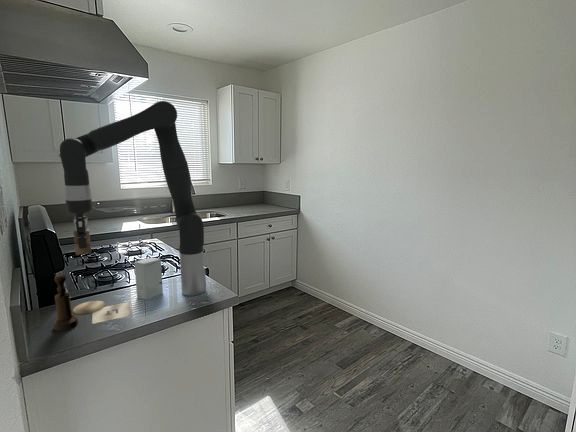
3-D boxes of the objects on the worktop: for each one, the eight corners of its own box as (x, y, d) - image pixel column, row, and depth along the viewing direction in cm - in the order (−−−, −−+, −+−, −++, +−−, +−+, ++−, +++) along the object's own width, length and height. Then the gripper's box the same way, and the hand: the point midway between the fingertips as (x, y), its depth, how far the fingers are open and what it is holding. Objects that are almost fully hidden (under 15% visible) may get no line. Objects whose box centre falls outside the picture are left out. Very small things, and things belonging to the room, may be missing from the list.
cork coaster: (104, 300, 125) (104, 298, 125) (105, 310, 117) (105, 309, 117) (74, 305, 120) (73, 304, 120) (72, 317, 112) (72, 315, 112)
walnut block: (90, 250, 117) (89, 228, 116) (91, 253, 113) (89, 231, 112) (76, 251, 115) (74, 229, 113) (75, 254, 111) (73, 232, 109)
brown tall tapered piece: (50, 327, 105) (43, 275, 102) (72, 319, 110) (66, 269, 107) (59, 333, 102) (52, 279, 98) (81, 325, 107) (75, 273, 104)
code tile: (129, 302, 123) (128, 301, 123) (131, 315, 113) (131, 315, 113) (92, 309, 117) (92, 309, 117) (92, 324, 107) (92, 323, 107)
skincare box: (146, 300, 125) (143, 264, 122) (136, 297, 128) (133, 261, 125) (164, 293, 132) (161, 258, 129) (154, 290, 135) (151, 256, 132)
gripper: (91, 200, 107) (95, 250, 109) (91, 195, 118) (95, 240, 121) (64, 201, 103) (69, 253, 106) (66, 196, 115) (71, 243, 118)
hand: (83, 246), depth 114 cm, fingers closed on walnut block, 4 cm apart
